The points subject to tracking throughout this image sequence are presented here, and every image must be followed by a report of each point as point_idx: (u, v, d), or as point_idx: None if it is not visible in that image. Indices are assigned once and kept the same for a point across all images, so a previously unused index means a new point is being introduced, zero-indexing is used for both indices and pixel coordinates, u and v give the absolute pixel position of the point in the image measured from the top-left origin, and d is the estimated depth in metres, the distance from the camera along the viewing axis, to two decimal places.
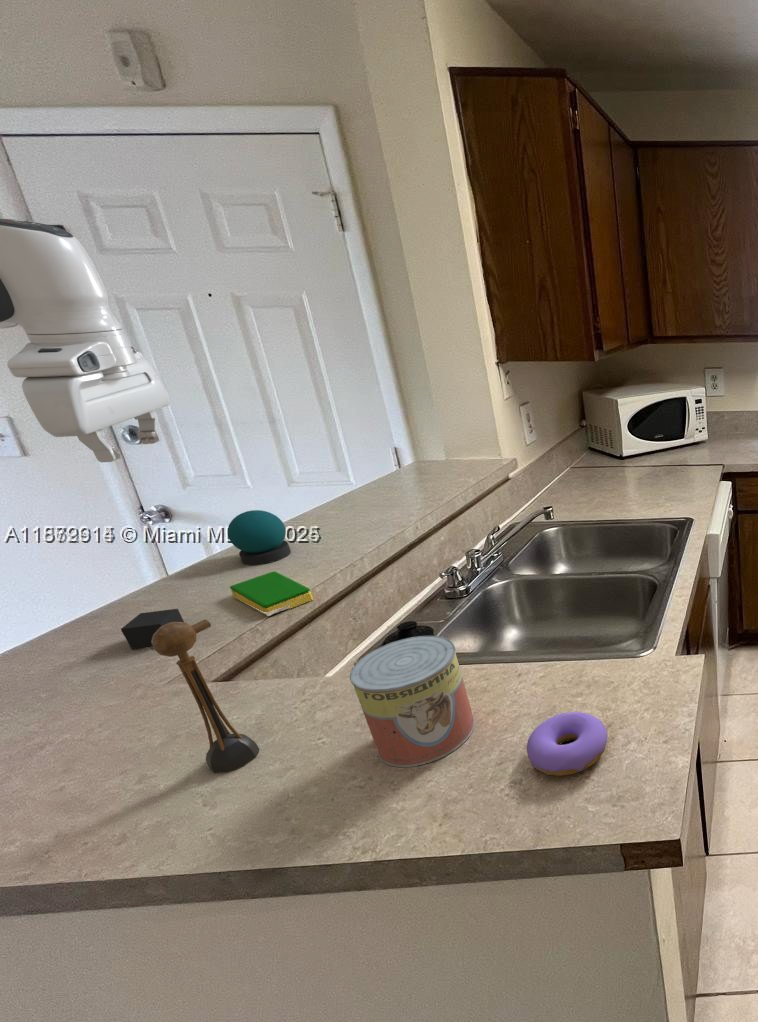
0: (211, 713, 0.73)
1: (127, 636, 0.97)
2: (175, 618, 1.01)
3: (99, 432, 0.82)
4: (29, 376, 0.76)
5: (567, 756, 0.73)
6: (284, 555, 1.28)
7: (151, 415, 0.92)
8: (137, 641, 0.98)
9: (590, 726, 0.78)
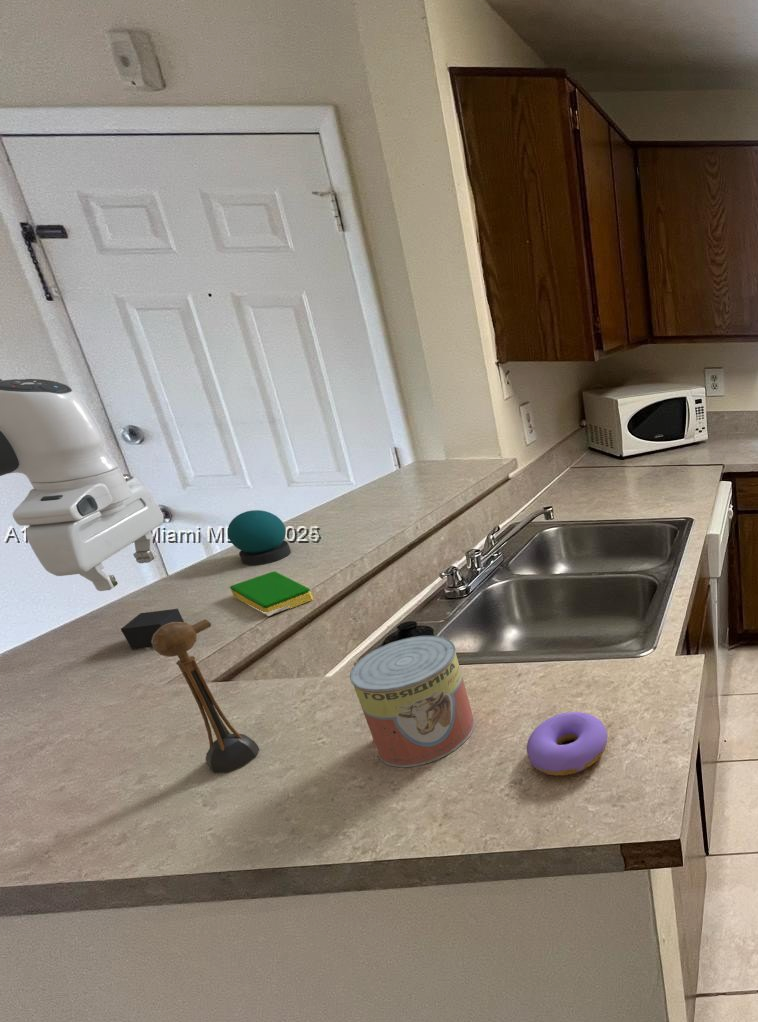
0: (211, 713, 0.73)
1: (127, 636, 0.97)
2: (175, 618, 1.01)
3: (98, 565, 0.89)
4: (33, 524, 0.83)
5: (567, 756, 0.73)
6: (284, 555, 1.28)
7: (146, 536, 0.99)
8: (137, 641, 0.98)
9: (590, 726, 0.78)
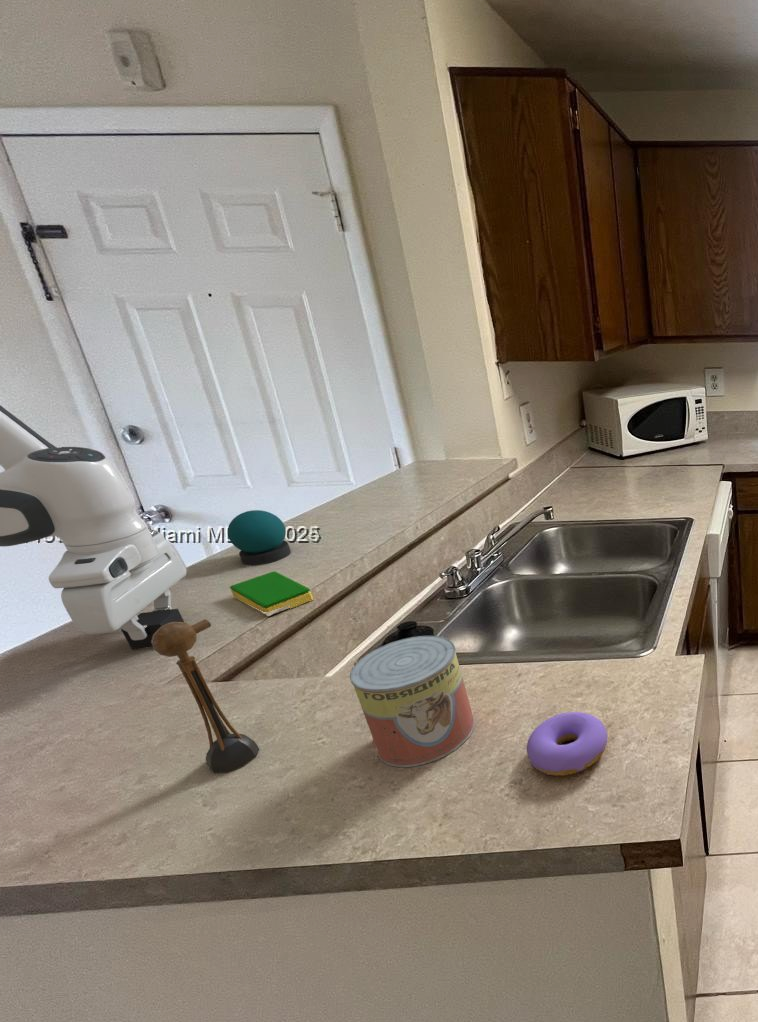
0: (211, 713, 0.73)
1: (127, 636, 0.97)
2: (175, 618, 1.01)
3: (133, 617, 0.94)
4: (67, 587, 0.87)
5: (567, 756, 0.73)
6: (284, 555, 1.28)
7: (165, 593, 1.02)
8: (137, 641, 0.98)
9: (590, 726, 0.78)
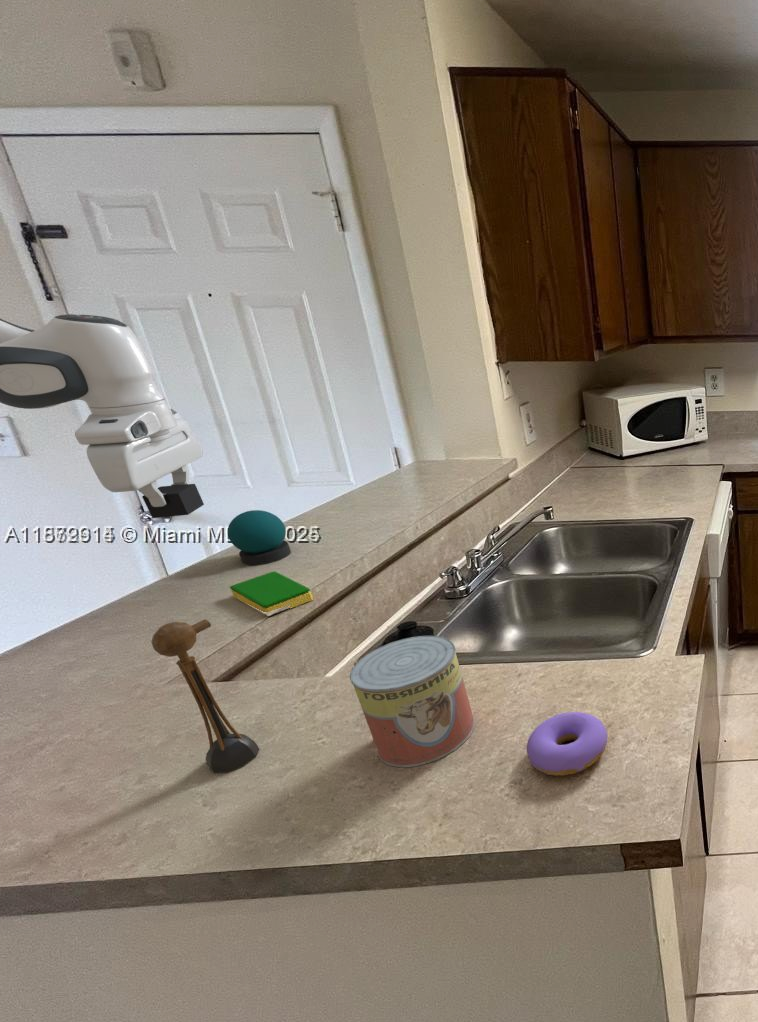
0: (211, 713, 0.73)
1: (148, 504, 1.02)
2: (192, 492, 1.07)
3: (153, 483, 1.00)
4: (92, 444, 0.92)
5: (567, 756, 0.73)
6: (284, 555, 1.28)
7: (183, 469, 1.07)
8: (157, 510, 1.03)
9: (590, 726, 0.78)
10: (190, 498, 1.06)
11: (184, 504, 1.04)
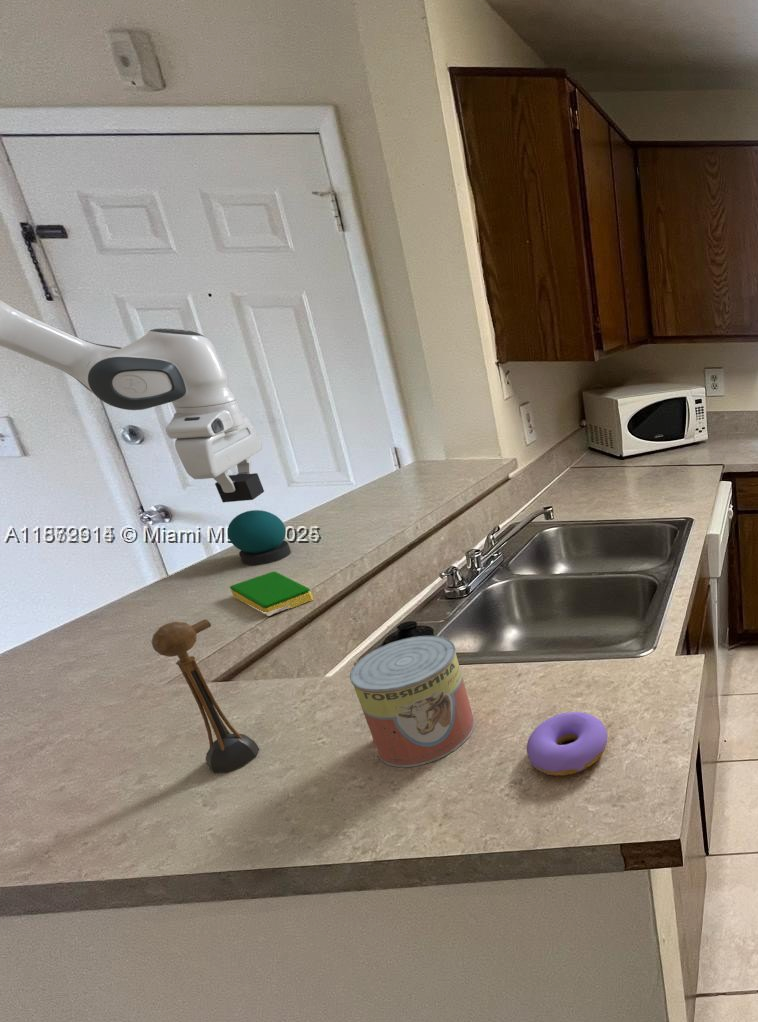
0: (211, 713, 0.73)
1: (219, 490, 1.19)
2: (256, 480, 1.23)
3: (226, 472, 1.17)
4: (179, 438, 1.09)
5: (567, 756, 0.73)
6: (284, 555, 1.28)
7: (247, 461, 1.24)
8: (227, 495, 1.20)
9: (590, 726, 0.78)
10: (254, 486, 1.22)
11: (250, 490, 1.21)
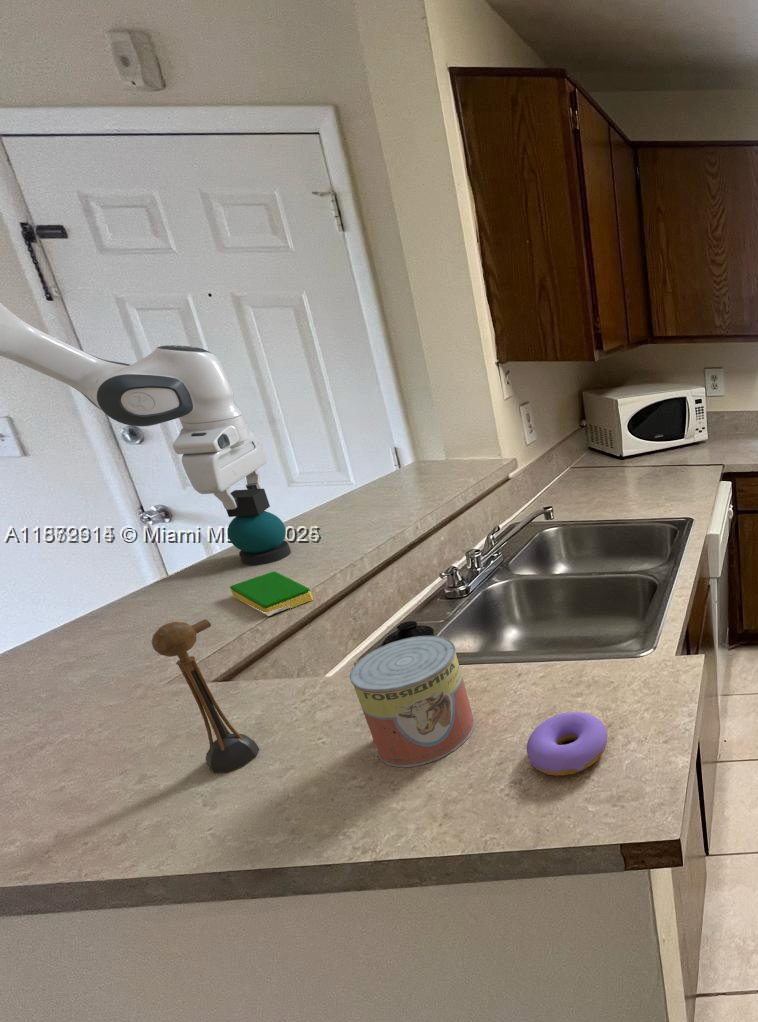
0: (211, 713, 0.73)
1: None
2: (262, 495, 1.25)
3: (227, 489, 1.16)
4: (186, 453, 1.10)
5: (567, 756, 0.73)
6: (284, 555, 1.28)
7: (255, 472, 1.26)
8: (233, 510, 1.21)
9: (590, 726, 0.78)
10: (260, 501, 1.24)
11: (256, 506, 1.22)
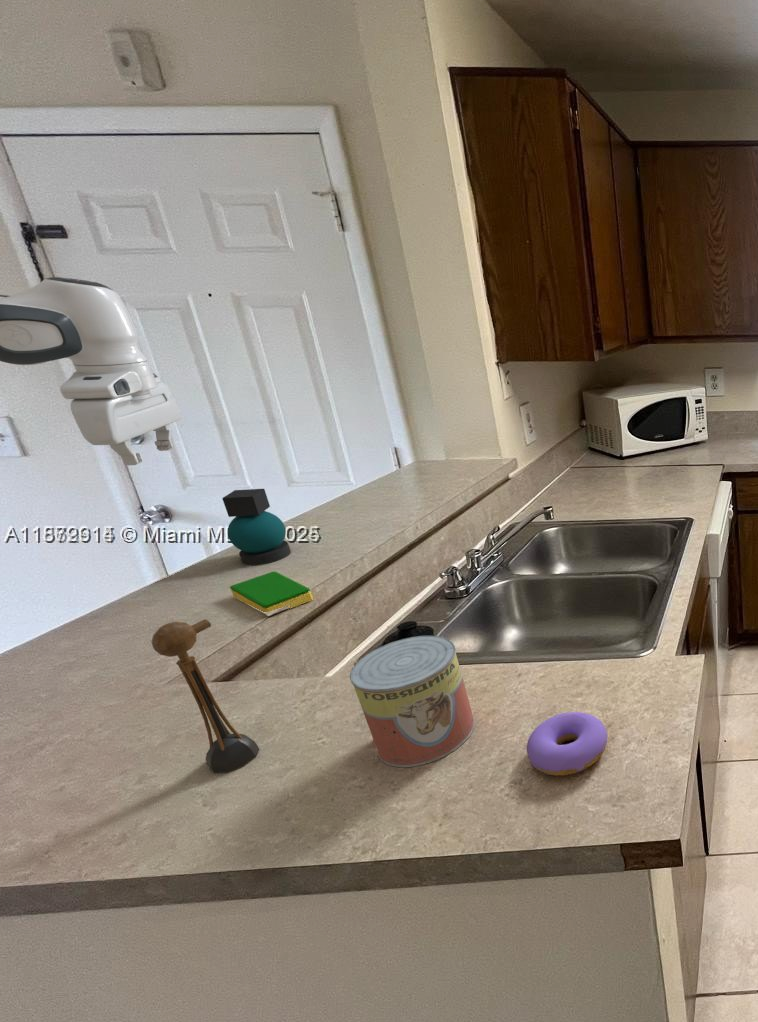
0: (211, 713, 0.73)
1: (226, 504, 1.20)
2: (262, 495, 1.25)
3: (127, 441, 1.04)
4: (76, 398, 0.98)
5: (567, 756, 0.73)
6: (284, 555, 1.28)
7: (166, 427, 1.14)
8: (233, 510, 1.21)
9: (590, 726, 0.78)
10: (260, 501, 1.24)
11: (256, 506, 1.22)
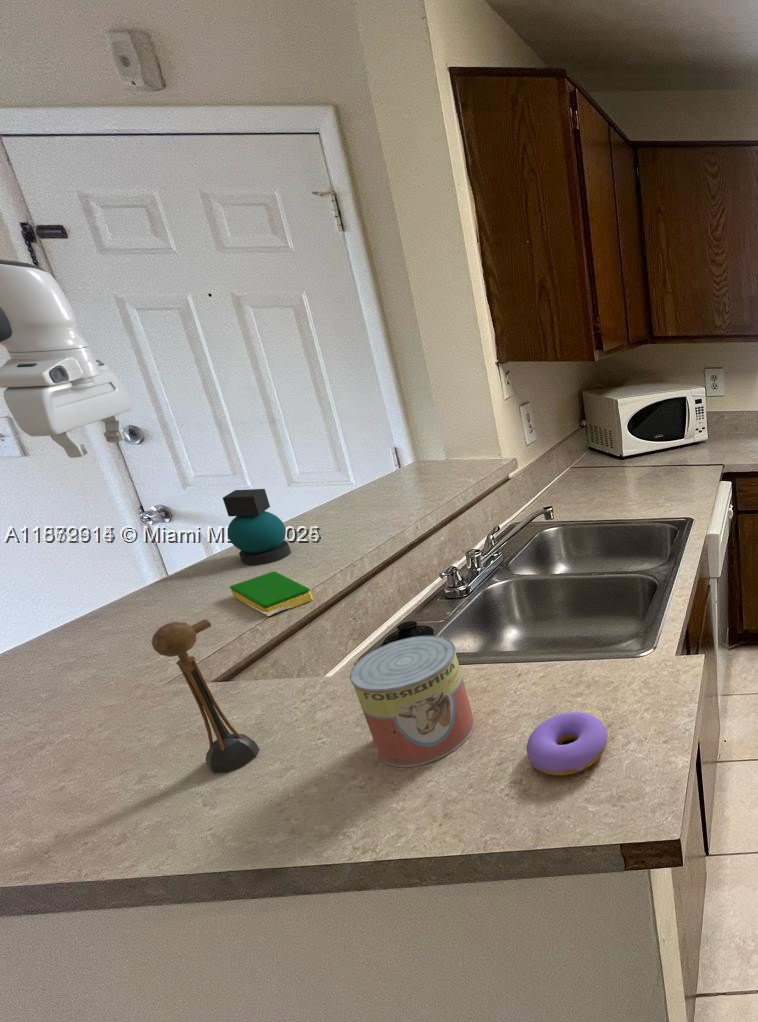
0: (211, 713, 0.73)
1: (226, 504, 1.20)
2: (263, 495, 1.25)
3: (69, 432, 0.99)
4: (9, 386, 0.93)
5: (567, 756, 0.73)
6: (284, 555, 1.28)
7: (115, 418, 1.09)
8: (233, 510, 1.21)
9: (590, 726, 0.78)
10: (261, 501, 1.24)
11: (257, 506, 1.22)
